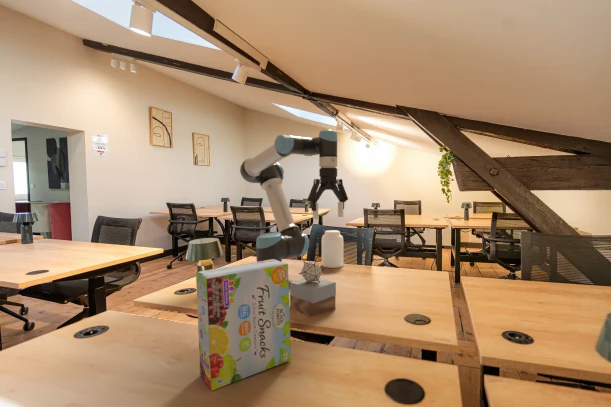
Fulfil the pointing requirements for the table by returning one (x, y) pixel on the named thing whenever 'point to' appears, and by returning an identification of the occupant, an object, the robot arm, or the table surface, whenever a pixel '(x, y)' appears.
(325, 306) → the tower base
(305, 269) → the game die
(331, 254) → the white plastic jar
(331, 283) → the tower top
